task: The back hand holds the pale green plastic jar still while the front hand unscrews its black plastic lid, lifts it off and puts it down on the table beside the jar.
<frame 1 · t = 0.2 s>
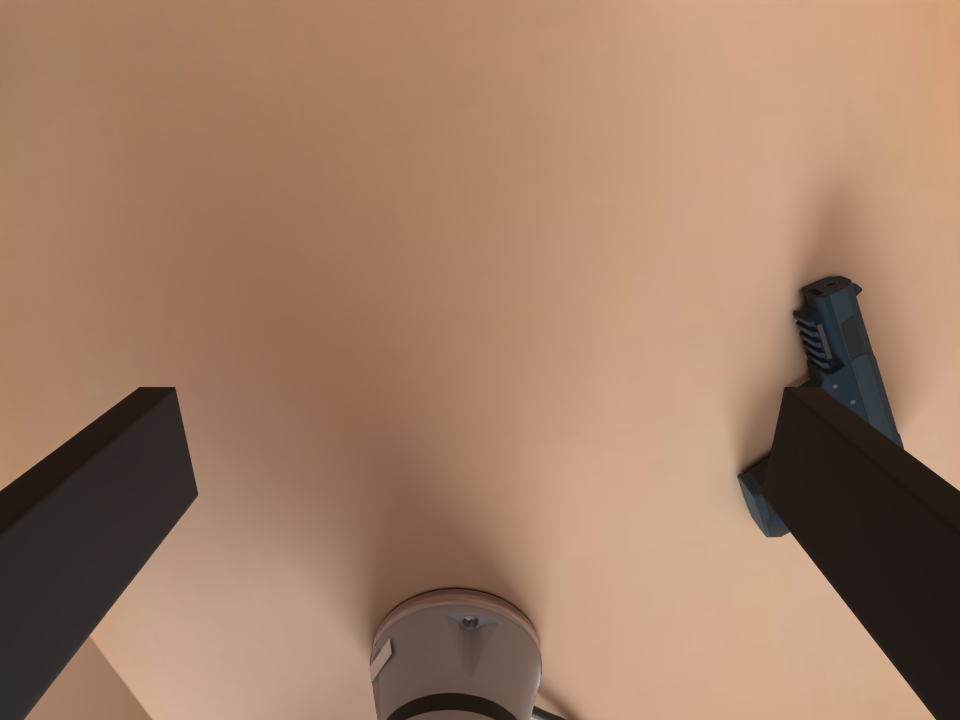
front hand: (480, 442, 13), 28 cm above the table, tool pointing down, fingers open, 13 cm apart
handgun: (792, 404, 43), on the table
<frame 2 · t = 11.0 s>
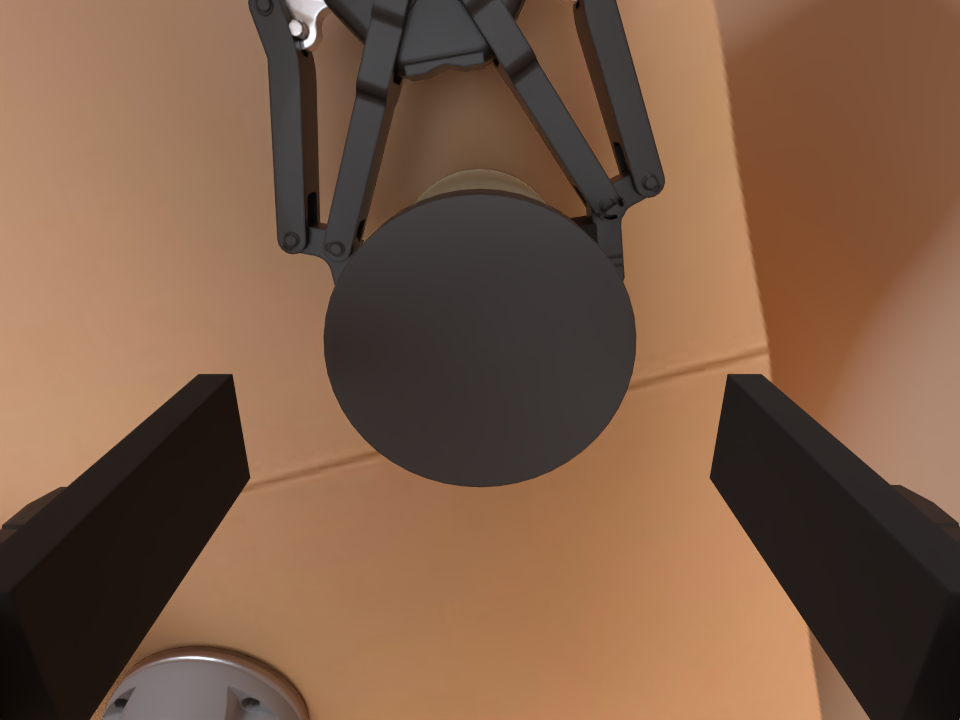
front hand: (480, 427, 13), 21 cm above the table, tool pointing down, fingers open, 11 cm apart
back hand: (494, 371, 28), fingers closed on jar, 9 cm apart
lid: (479, 351, 18), point 16 cm above the table, screwed on, not yet turned
jar: (479, 252, 33), on the table, touching back hand
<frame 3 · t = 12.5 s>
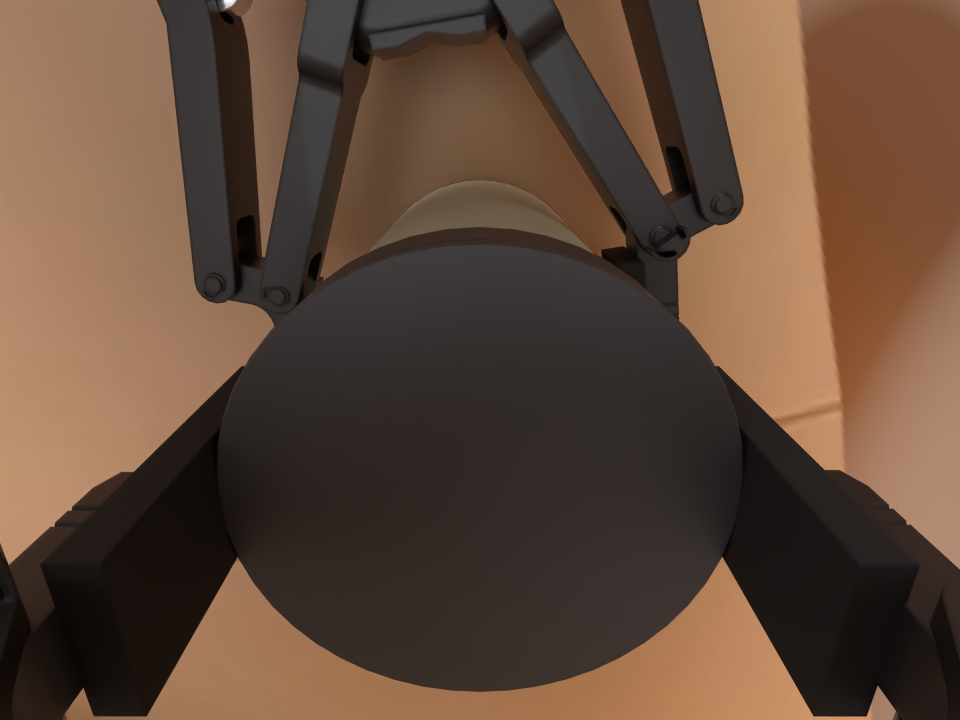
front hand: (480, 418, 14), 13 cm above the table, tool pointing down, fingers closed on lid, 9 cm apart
back hand: (499, 451, 21), fingers closed on jar, 9 cm apart
lid: (479, 494, 11), point 16 cm above the table, screwed on, not yet turned, touching front hand
jar: (479, 286, 25), on the table, touching back hand
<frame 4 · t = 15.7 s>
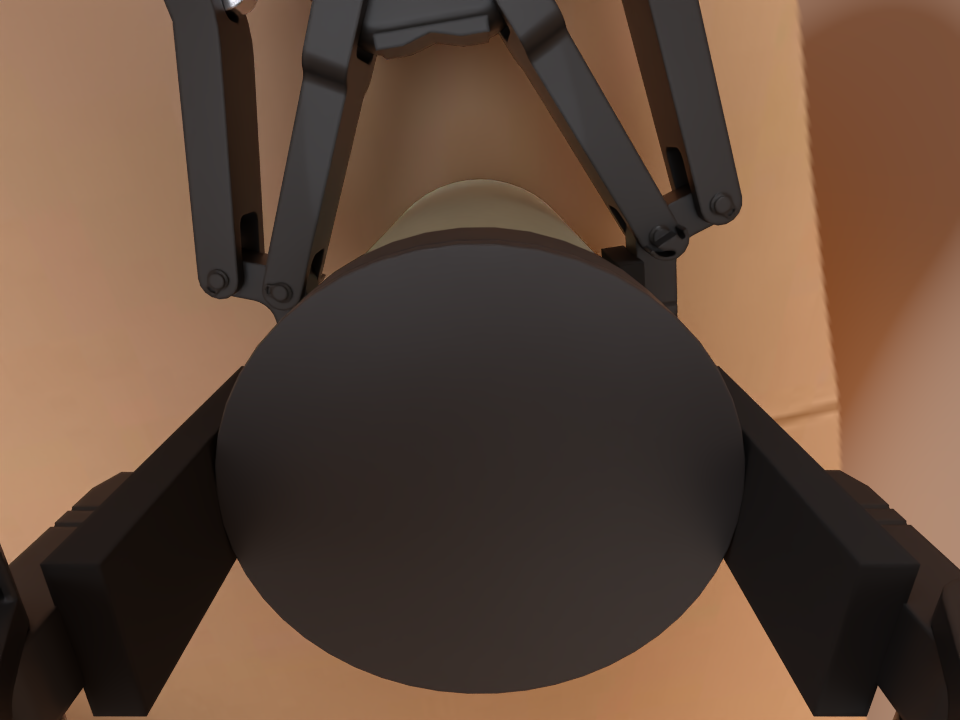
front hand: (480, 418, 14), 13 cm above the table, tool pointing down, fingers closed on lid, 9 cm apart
back hand: (498, 448, 21), fingers closed on jar, 9 cm apart
lid: (480, 495, 11), point 16 cm above the table, turned 87° so far, risen 0.2 cm, still on its thread, touching front hand
jar: (480, 284, 26), on the table, touching back hand
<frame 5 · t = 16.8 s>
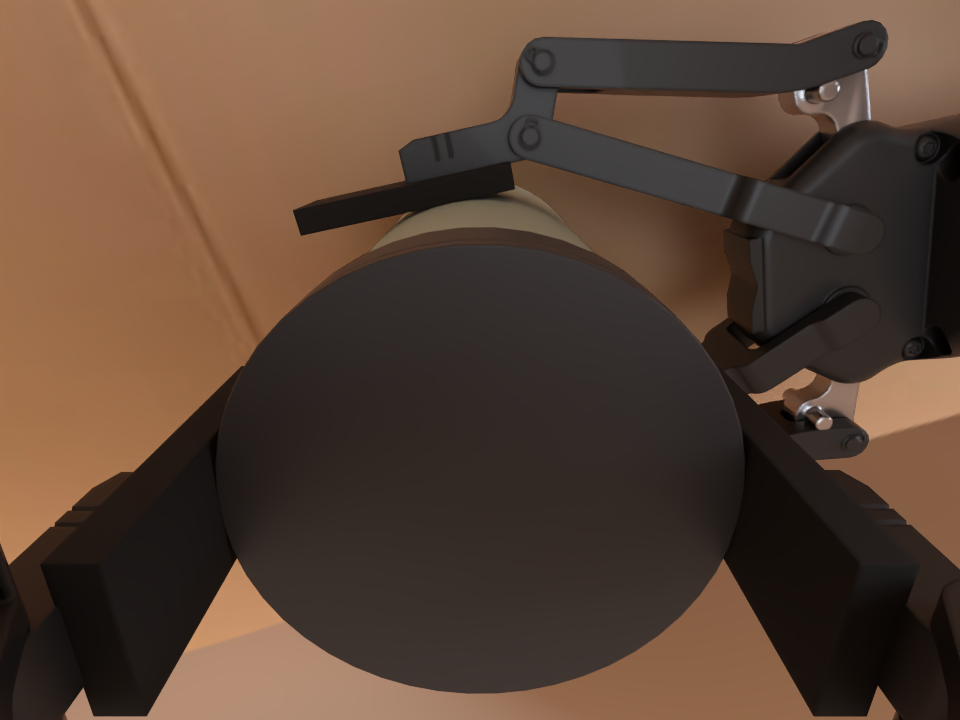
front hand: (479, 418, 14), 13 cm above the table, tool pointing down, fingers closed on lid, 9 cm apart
back hand: (353, 357, 20), fingers closed on jar, 9 cm apart
lid: (480, 495, 11), point 16 cm above the table, off its thread, touching front hand
jar: (480, 283, 26), on the table, touching back hand
when the front hand's fingers open (0 cm above the table, at t = 22.0 s): lid drops 2 cm, point 1 cm above the table.
when the back hand's fingers open (7 cm above the table, at t = 23.0 s): jar stays where it is, on the table.
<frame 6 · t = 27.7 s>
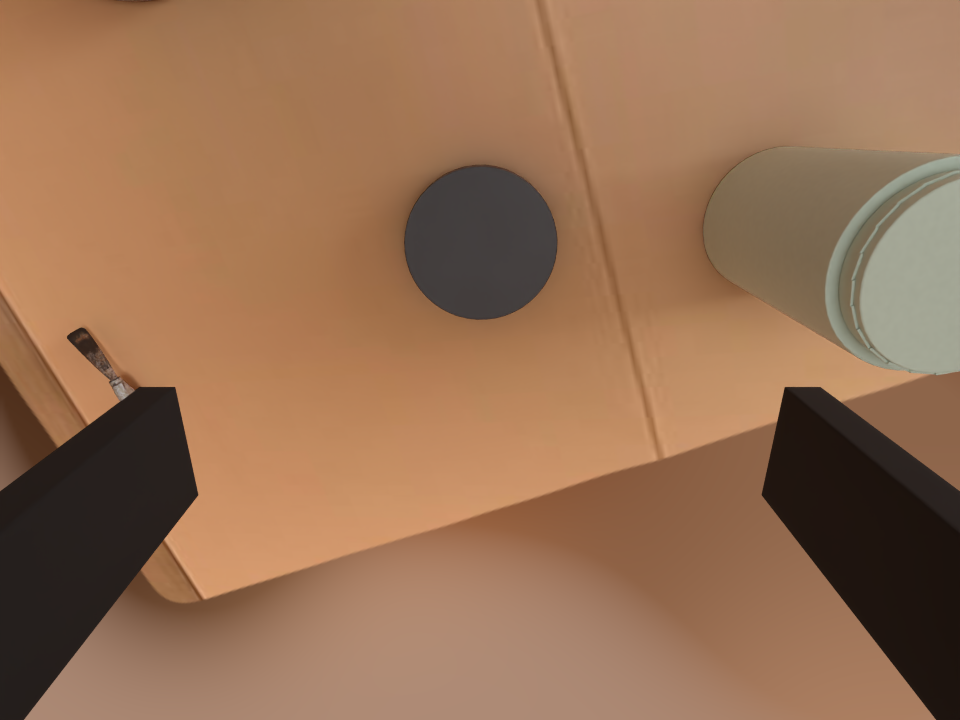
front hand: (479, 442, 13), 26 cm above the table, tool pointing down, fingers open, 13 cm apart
putty knife: (121, 373, 41), on the table
lid: (480, 245, 36), point 1 cm above the table, off its thread
jar: (773, 221, 37), on the table
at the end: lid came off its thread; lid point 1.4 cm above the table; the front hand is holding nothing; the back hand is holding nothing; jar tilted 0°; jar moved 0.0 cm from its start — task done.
